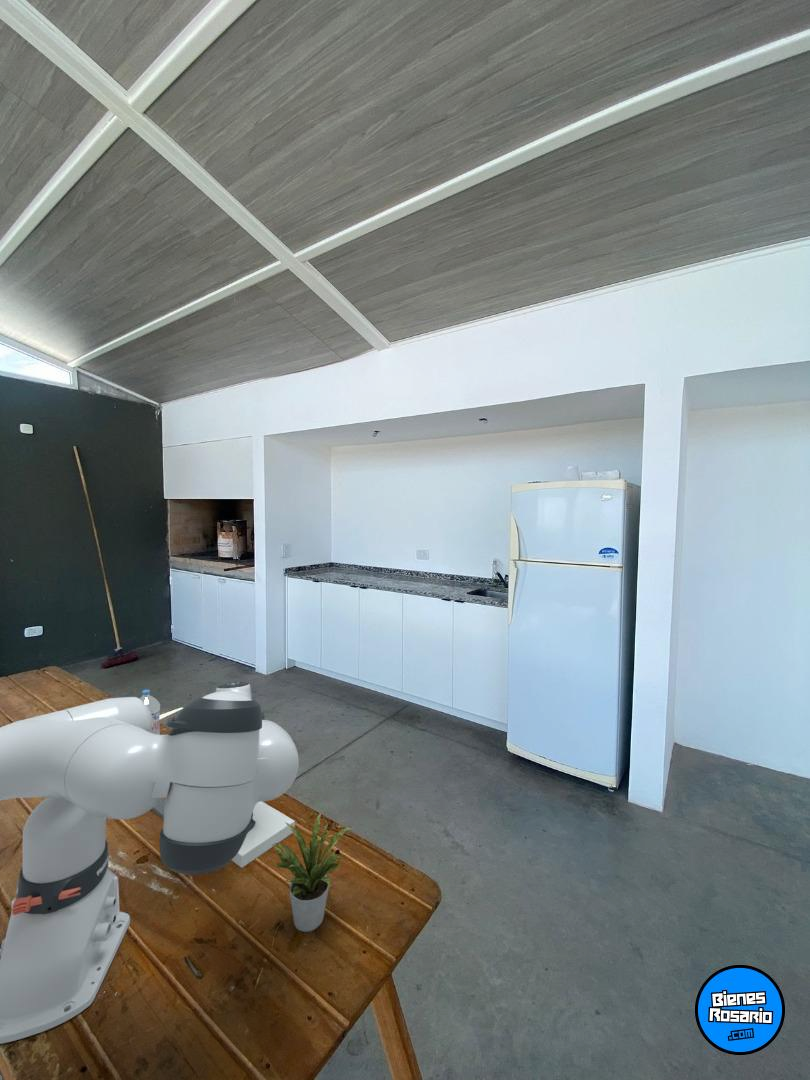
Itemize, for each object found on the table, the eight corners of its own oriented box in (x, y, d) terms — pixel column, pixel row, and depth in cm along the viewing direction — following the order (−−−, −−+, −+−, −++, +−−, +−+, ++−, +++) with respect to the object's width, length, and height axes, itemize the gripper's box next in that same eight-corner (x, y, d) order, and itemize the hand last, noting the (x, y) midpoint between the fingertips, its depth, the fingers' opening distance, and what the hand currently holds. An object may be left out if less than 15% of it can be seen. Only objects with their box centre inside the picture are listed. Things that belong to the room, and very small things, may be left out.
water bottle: (154, 772, 127) (156, 684, 126) (162, 782, 122) (163, 691, 121) (126, 781, 122) (128, 690, 121) (133, 792, 117) (135, 697, 116)
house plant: (334, 873, 92) (336, 794, 91) (366, 924, 80) (368, 834, 80) (264, 902, 84) (266, 817, 84) (287, 964, 73) (290, 865, 72)
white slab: (294, 831, 104) (294, 820, 104) (241, 867, 93) (241, 856, 92) (246, 802, 114) (246, 792, 114) (193, 831, 103) (194, 821, 103)
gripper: (271, 759, 103) (269, 818, 103) (219, 733, 115) (218, 786, 115) (247, 770, 98) (245, 833, 98) (196, 742, 109) (195, 798, 110)
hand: (230, 808), depth 107 cm, fingers closed
